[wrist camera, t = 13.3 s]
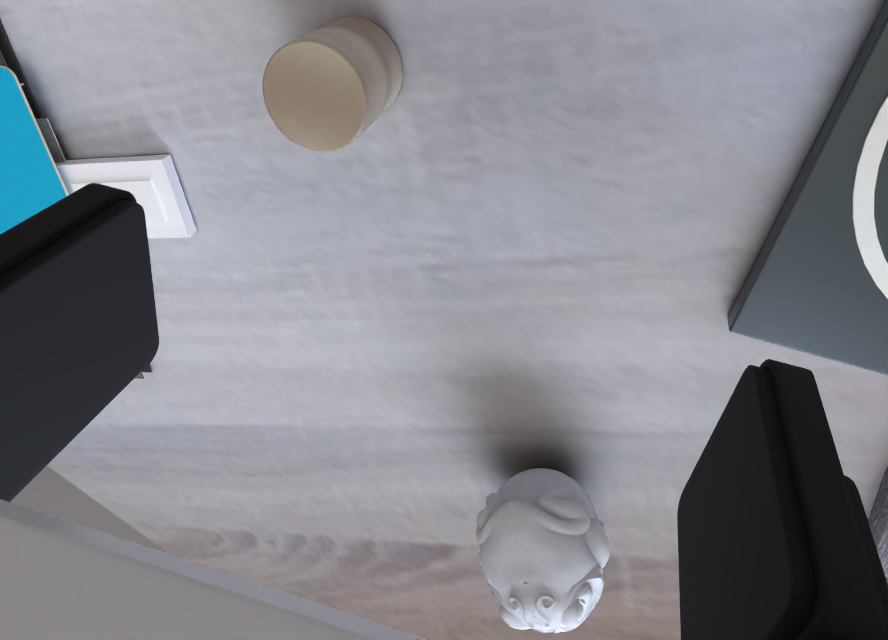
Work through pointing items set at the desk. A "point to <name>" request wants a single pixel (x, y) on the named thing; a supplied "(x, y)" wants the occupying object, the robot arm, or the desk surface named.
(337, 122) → the beige cylinder
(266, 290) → the desk surface
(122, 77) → the desk surface
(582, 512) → the frog figurine
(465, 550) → the desk surface
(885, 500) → the picture frame
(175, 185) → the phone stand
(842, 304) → the slate board
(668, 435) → the desk surface
